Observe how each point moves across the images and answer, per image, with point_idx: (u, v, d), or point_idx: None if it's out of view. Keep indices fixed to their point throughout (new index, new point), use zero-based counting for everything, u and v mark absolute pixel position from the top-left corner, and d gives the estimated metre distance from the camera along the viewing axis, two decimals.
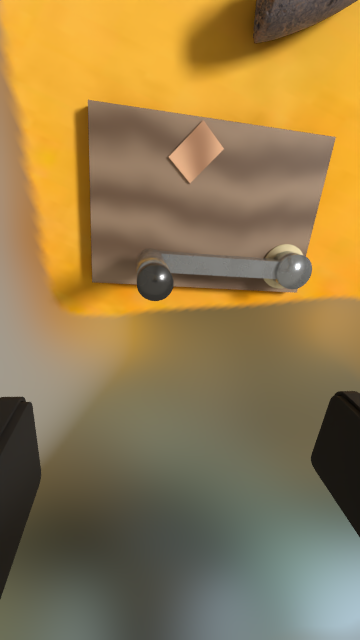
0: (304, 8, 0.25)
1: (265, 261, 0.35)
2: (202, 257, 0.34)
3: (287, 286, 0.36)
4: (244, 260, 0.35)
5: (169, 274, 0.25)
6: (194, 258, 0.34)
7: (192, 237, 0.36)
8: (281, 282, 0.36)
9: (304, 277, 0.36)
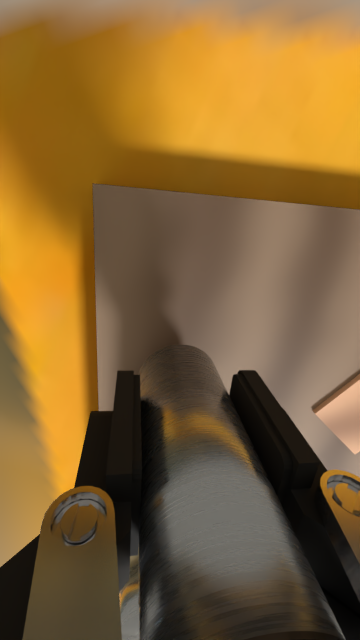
0: None
1: None
2: None
3: (125, 629, 0.17)
4: None
5: None
6: None
7: None
8: (133, 619, 0.17)
9: None
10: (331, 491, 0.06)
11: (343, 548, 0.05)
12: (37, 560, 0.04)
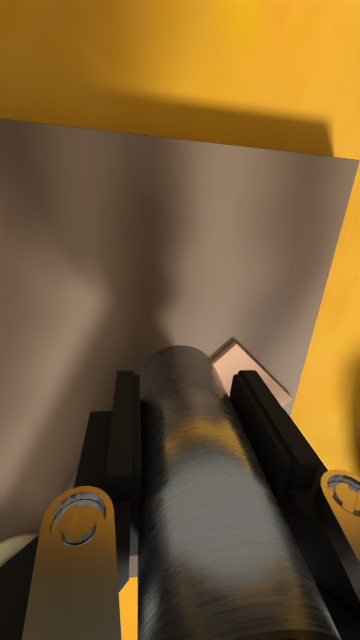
0: None
1: None
2: None
3: None
4: None
5: None
6: None
7: (66, 404, 0.15)
8: None
9: None
10: (331, 491, 0.06)
11: (344, 548, 0.05)
12: (36, 560, 0.04)
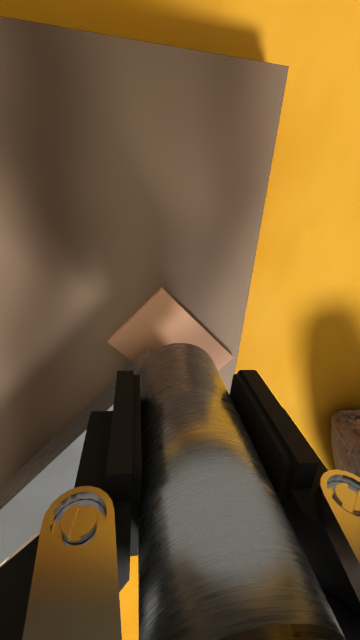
0: None
1: None
2: None
3: None
4: (25, 539, 0.14)
5: None
6: None
7: None
8: None
9: None
10: (331, 491, 0.06)
11: (343, 548, 0.05)
12: (37, 560, 0.04)
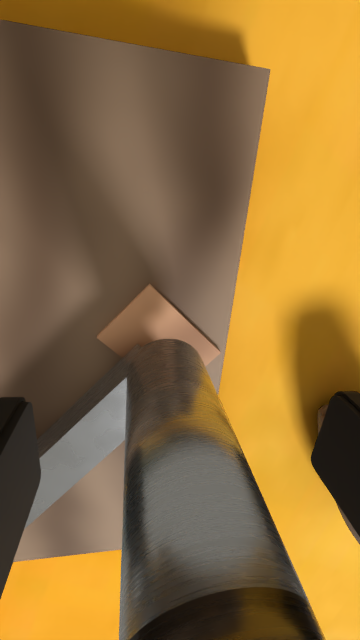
0: None
1: None
2: (87, 470, 0.13)
3: None
4: None
5: None
6: (96, 456, 0.13)
7: None
8: None
9: None
10: None
11: None
12: None
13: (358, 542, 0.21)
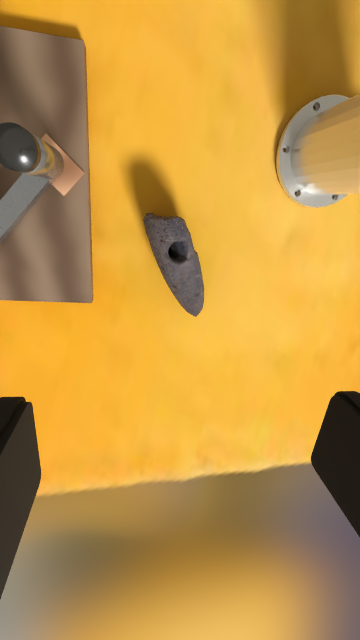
0: (156, 246, 0.34)
1: None
2: (20, 212, 0.31)
3: None
4: None
5: (14, 168, 0.22)
6: (23, 204, 0.31)
7: None
8: None
9: None
10: None
11: None
12: None
13: None
